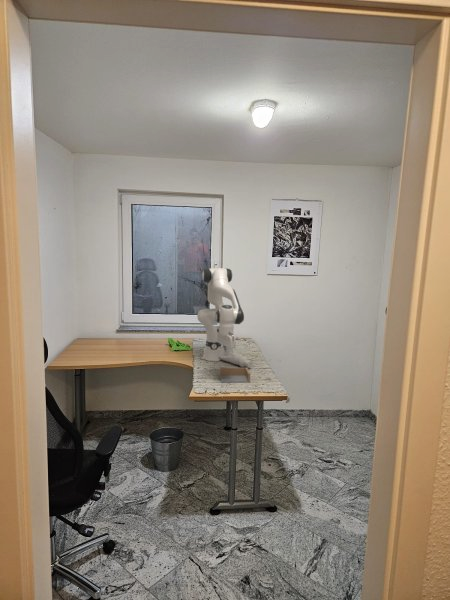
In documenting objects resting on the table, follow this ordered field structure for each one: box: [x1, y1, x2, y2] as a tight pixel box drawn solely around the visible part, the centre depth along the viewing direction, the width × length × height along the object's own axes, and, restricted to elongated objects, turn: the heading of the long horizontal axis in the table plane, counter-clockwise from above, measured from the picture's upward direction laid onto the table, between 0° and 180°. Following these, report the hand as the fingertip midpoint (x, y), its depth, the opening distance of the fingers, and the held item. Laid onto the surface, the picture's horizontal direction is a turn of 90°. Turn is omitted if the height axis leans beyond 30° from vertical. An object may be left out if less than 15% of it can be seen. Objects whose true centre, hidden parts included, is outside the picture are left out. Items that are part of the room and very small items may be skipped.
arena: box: [219, 367, 251, 384], centre depth 231 cm, size 13×18×6 cm
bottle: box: [220, 351, 253, 369], centre depth 264 cm, size 9×9×30 cm
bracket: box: [219, 346, 234, 358], centre depth 227 cm, size 9×4×6 cm, turn 115°
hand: (226, 352), depth 228 cm, fingers closed on bracket, 2 cm apart
